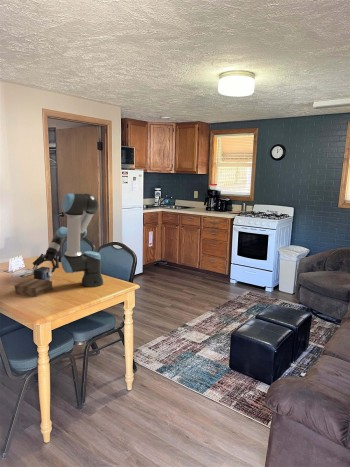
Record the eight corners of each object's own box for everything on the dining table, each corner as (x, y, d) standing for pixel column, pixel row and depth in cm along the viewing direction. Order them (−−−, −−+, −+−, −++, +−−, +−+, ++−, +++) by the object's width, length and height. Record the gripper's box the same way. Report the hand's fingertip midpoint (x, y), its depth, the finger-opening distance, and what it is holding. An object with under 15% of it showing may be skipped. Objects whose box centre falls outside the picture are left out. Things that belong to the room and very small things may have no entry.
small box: (42, 285, 236) (41, 270, 235) (33, 284, 237) (33, 270, 236) (50, 281, 246) (50, 267, 245) (42, 280, 248) (41, 266, 246)
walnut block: (52, 289, 230) (51, 281, 229) (36, 297, 215) (36, 288, 214) (32, 286, 234) (31, 278, 233) (15, 294, 219) (14, 285, 218)
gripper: (70, 254, 253) (58, 279, 241) (40, 251, 259) (28, 275, 247) (65, 248, 247) (54, 273, 235) (36, 245, 253) (23, 270, 241)
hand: (41, 274), depth 241 cm, fingers open, 13 cm apart
